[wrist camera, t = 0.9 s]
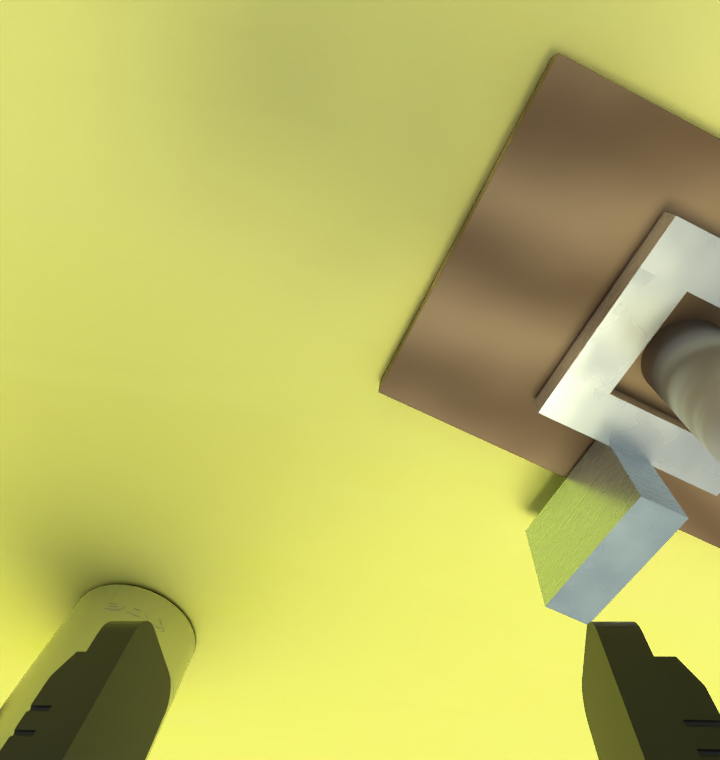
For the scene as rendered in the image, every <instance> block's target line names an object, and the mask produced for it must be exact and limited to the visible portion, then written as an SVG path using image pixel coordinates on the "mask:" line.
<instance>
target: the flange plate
mask: <svg viewBox="0 0 720 760" xmlns="http://www.w3.org/2000/svg"><path fill="white" fill-rule="evenodd" d="M686 292H689V293H691V294H693V295H695V296H697V297H699V298H701V299H703V300H705V301H707V302H709V303H711V304H713V305H715V306H717V307H719V308H720V238H718V237H716V236H714V235H712V234H711V233H709V232H707V231H705V230H703V229H701V228H699V227H697V226H695V225H693V224H691V223H689V222H687V221H685V220H683V219H682V218H680V217H678V216H676V215H673V214H670V213H667V212H664V213H663V215H662V216H661V217H660V219H659V220H658V222H657V223H656V225H655V226H654V228H653V229H652V231H651V232H650V233H649V235H648V236H647V238H646V239H645V241H644V242H643V244H642V245H641V247H640V248H639V249H638V251H637V252H636V254H635V255H634V257H633V258H632V260H631V261H630V263H629V264H628V265H627V267H626V268H625V270H624V271H623V273H622V274H621V276H620V277H619V279H618V280H617V281H616V283H615V284H614V286H613V287H612V289H611V290H610V292H609V293H608V295H607V296H606V297H605V299H604V300H603V302H602V303H601V305H600V306H599V308H598V309H597V311H596V312H595V313H594V315H593V316H592V318H591V319H590V321H589V322H588V324H587V325H586V327H585V328H584V329H583V331H582V332H581V334H580V335H579V337H578V338H577V340H576V341H575V343H574V344H573V345H572V347H571V348H570V350H569V351H568V353H567V354H566V356H565V357H564V359H563V360H562V361H561V363H560V364H559V366H558V367H557V369H556V370H555V372H554V373H553V375H552V376H551V377H550V379H549V380H548V382H547V383H546V385H545V386H544V388H543V389H542V391H541V392H540V393H539V395H538V396H537V398H536V399H535V401H534V404H535V406H536V408H537V411H538V413H540V414H542V415H544V416H546V417H548V418H551V419H553V420H555V421H557V422H559V423H561V424H563V425H566V426H568V427H570V428H572V429H574V430H576V431H578V432H581V433H583V434H585V435H587V436H589V437H591V438H593V439H596V441H595V442H594V443H593V445H592V446H591V447H590V449H589V450H588V451H587V452H586V454H585V455H584V456H583V458H582V459H581V460H580V461H579V463H578V464H577V465H576V467H575V468H574V469H573V470H572V472H571V473H570V474H569V476H568V477H567V478H566V479H565V481H564V482H563V483H562V485H561V486H560V487H559V488H558V490H557V491H556V492H555V494H554V495H553V496H552V497H551V499H550V500H549V501H548V503H547V504H546V505H545V507H544V508H543V509H542V510H541V512H540V513H539V514H538V516H537V517H536V518H535V519H534V521H533V522H532V523H531V525H530V526H529V527H528V528H527V530H526V534H527V538H528V542H529V546H530V550H531V554H532V557H533V561H534V565H535V569H536V573H537V577H538V581H539V584H540V588H541V592H542V596H543V600H544V604H545V606H546V607H548V608H550V609H553V610H555V611H557V612H559V613H562V614H564V615H566V616H569V617H571V618H573V619H576V620H578V621H580V622H583V623H585V624H587V625H588V623H589V622H591V621H592V620H593V619H594V618H595V617H596V616H597V615H598V614H599V613H600V612H601V611H602V610H603V609H604V608H605V607H606V605H607V604H608V603H609V602H610V601H611V600H612V599H613V598H614V597H615V596H616V595H617V594H618V593H619V592H620V591H621V590H622V588H623V587H624V586H625V585H626V584H627V583H628V582H629V581H630V580H631V579H632V578H633V577H634V576H635V575H636V574H637V573H638V572H639V570H640V569H641V568H642V567H643V566H644V565H645V564H646V563H647V562H648V561H649V560H650V559H651V558H652V557H653V556H654V555H655V553H656V552H657V551H658V550H659V549H660V548H661V547H662V546H663V545H664V544H665V543H666V542H667V541H668V540H669V539H670V538H671V537H672V535H673V534H674V533H675V532H676V531H677V530H678V529H679V528H680V527H681V526H682V525H683V524H684V523H685V522H686V521H687V520H688V517H687V515H686V514H685V512H684V511H683V509H682V508H681V506H680V505H679V504H678V502H677V501H676V499H675V498H674V496H673V495H672V493H671V492H670V490H669V489H668V488H667V486H666V485H665V483H664V482H663V480H662V479H661V477H660V476H659V474H658V473H657V472H656V470H655V469H654V467H655V468H658V469H660V470H662V471H664V472H666V473H668V474H670V475H673V476H675V477H677V478H679V479H681V480H683V481H685V482H688V483H690V484H692V485H694V486H696V487H698V488H700V489H703V490H705V491H707V492H709V493H711V494H713V495H715V496H717V495H718V494H719V493H720V463H719V462H718V461H717V460H716V459H715V458H714V457H713V456H712V455H711V454H710V453H709V451H708V450H707V449H706V448H705V447H704V446H703V445H702V444H701V442H700V441H699V440H698V439H697V438H696V437H695V436H694V435H693V433H692V432H691V431H690V430H689V429H688V428H687V427H686V426H685V425H684V423H683V422H682V421H680V420H678V419H675V418H673V417H671V416H669V415H667V414H665V413H663V412H661V411H659V410H657V409H655V408H652V407H650V406H648V405H646V404H644V403H642V402H640V401H638V400H636V399H634V398H632V397H629V396H627V395H625V394H623V393H621V392H619V391H617V390H615V389H614V388H615V386H616V385H617V384H618V382H619V381H620V380H621V378H622V377H623V376H624V374H625V373H626V372H627V370H628V369H629V368H630V366H631V365H632V364H633V362H634V361H635V360H636V358H637V357H638V356H639V354H640V353H641V352H642V351H643V349H644V348H645V347H646V345H647V344H648V343H649V341H650V340H651V339H652V337H653V336H654V335H655V333H656V332H657V331H658V329H659V328H660V327H661V325H662V324H663V323H664V321H665V320H666V319H667V317H668V316H669V315H670V313H671V312H672V311H673V309H674V308H675V307H676V305H677V304H678V303H679V301H680V300H681V299H682V298H683V296H684V295H685V294H686Z"/></svg>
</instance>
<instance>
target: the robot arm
mask: <svg viewBox="0 0 720 760" xmlns="http://www.w3.org/2000/svg"><path fill="white" fill-rule="evenodd" d="M194 649H195V635H194V631H193V629H192V627H191V624H190V622H189V621H188V620H187V618H186V617H185V616H184V614H183V613H182V612H181V611H180V610H179V609H178V608H177V607H176V606H175V605H174V604H172V603H171V602H169V601H168V600H166V599H165V598H163V597H162V596H160V595H158V594H156V593H153V592H151V591H149V590H146V589H143V588H140V587H136V586H130V585H106V586H100V587H98V588H95V589H93V590H90V591H89V592H88V593H86V594H85V595H84V596H82V597H81V599H80V600H79V602H78V603H77V604H76V606H75V607H74V608H73V610H72V611H71V613H70V614H69V615H68V617H67V618H66V619H65V621H64V622H63V623H62V625H61V626H60V628H59V629H58V630H57V632H56V633H55V634H54V636H53V637H52V639H51V640H50V641H49V643H48V644H47V645H46V646H45V648H44V649H43V650H42V652H41V653H40V655H39V656H38V657H37V659H36V660H35V661H34V663H33V664H32V666H31V667H30V668H29V670H28V671H27V672H26V674H25V675H24V677H23V678H22V679H21V681H20V682H19V684H18V685H17V686H16V688H15V689H14V690H13V692H12V693H11V695H10V696H9V697H8V699H7V700H6V701H5V703H4V704H3V706H2V707H1V708H0V760H147V758H148V756H149V754H150V752H151V749H152V747H153V745H154V742H155V740H156V738H157V735H158V733H159V731H160V728H161V726H162V724H163V722H164V719H165V717H166V715H167V712H168V710H169V708H170V705H171V704H172V701H173V699H174V697H175V694H176V692H177V690H178V687H179V685H180V683H181V680H182V678H183V676H184V673H185V671H186V669H187V666H188V664H189V662H190V660H191V657H192V655H193V653H194ZM582 693H583V701H584V707H585V712H586V717H587V721H588V724H589V728H590V731H591V734H592V738H593V741H594V745H595V748H596V751H597V755H598V758H599V760H720V714H719V712H718V710H717V708H716V706H715V704H714V702H713V701H712V699H711V697H710V695H709V693H708V691H707V689H706V687H705V686H704V685H703V684H702V683H701V682H700V681H699V680H698V679H697V678H696V677H695V676H694V675H693V674H692V673H691V672H690V671H689V670H688V669H687V668H686V666H685V665H684V664H683V663H682V662H681V661H680V660H679V659H678V658H677V657H654V656H653V654H652V652H651V650H650V648H649V645H648V643H647V641H646V639H645V637H644V635H643V633H642V631H641V629H640V627H639V626H638V625H637V623H635V622H589V623H588V625H587V632H586V643H585V654H584V665H583V676H582Z"/></svg>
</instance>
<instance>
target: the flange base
mask: <svg viewBox="0 0 720 760" xmlns="http://www.w3.org/2000/svg"><path fill="white" fill-rule="evenodd" d="M664 212H667V213H670V214H673V215H676V216H678V217H680V218H682V219H683V220H685V221H687V222H689V223H691V224H693V225H695V226H697V227H699V228H701V229H703V230H705V231H707V232H709V233H711V234H712V235H714V236H716V237H718V238H720V139H718V138H716V137H714V136H712V135H711V134H709V133H707V132H705V131H703V130H701V129H699V128H697V127H696V126H694V125H692V124H690V123H688V122H686V121H684V120H683V119H681V118H679V117H677V116H675V115H673V114H671V113H670V112H668V111H666V110H664V109H662V108H660V107H658V106H656V105H655V104H653V103H651V102H649V101H647V100H645V99H643V98H642V97H640V96H638V95H636V94H634V93H632V92H630V91H629V90H627V89H625V88H623V87H621V86H619V85H617V84H615V83H614V82H612V81H610V80H608V79H606V78H604V77H602V76H601V75H599V74H597V73H595V72H593V71H591V70H589V69H587V68H586V67H584V66H582V65H580V64H578V63H576V62H574V61H573V60H571V59H569V58H567V57H565V56H563V55H561V54H560V53H558V54H556V55H555V56H553V57H552V58H551V60H550V62H549V64H548V66H547V68H546V70H545V72H544V73H543V75H542V77H541V79H540V81H539V83H538V85H537V87H536V89H535V90H534V92H533V94H532V96H531V98H530V100H529V102H528V104H527V106H526V108H525V109H524V111H523V113H522V115H521V117H520V119H519V121H518V123H517V125H516V126H515V128H514V130H513V132H512V134H511V136H510V138H509V140H508V142H507V143H506V145H505V147H504V149H503V151H502V153H501V155H500V157H499V159H498V160H497V162H496V164H495V166H494V168H493V170H492V172H491V174H490V176H489V177H488V179H487V181H486V183H485V185H484V187H483V189H482V191H481V193H480V194H479V196H478V198H477V200H476V202H475V204H474V206H473V208H472V210H471V211H470V213H469V215H468V217H467V219H466V221H465V223H464V225H463V227H462V228H461V230H460V232H459V234H458V236H457V238H456V240H455V242H454V244H453V245H452V247H451V249H450V251H449V253H448V255H447V257H446V259H445V261H444V262H443V264H442V266H441V268H440V270H439V272H438V274H437V276H436V278H435V279H434V281H433V283H432V285H431V287H430V289H429V291H428V293H427V295H426V296H425V298H424V300H423V302H422V304H421V306H420V308H419V310H418V312H417V313H416V315H415V317H414V319H413V321H412V323H411V325H410V327H409V329H408V330H407V332H406V334H405V336H404V338H403V340H402V342H401V344H400V346H399V347H398V349H397V351H396V353H395V355H394V357H393V359H392V361H391V363H390V364H389V366H388V368H387V370H386V372H385V374H384V376H383V378H382V380H381V381H380V385H379V393H382V394H384V395H386V396H388V397H390V398H393V399H395V400H397V401H399V402H401V403H404V404H406V405H408V406H410V407H412V408H414V409H417V410H419V411H421V412H423V413H425V414H428V415H430V416H432V417H434V418H436V419H439V420H441V421H443V422H445V423H447V424H449V425H452V426H454V427H456V428H458V429H460V430H463V431H465V432H467V433H469V434H471V435H474V436H476V437H478V438H480V439H482V440H484V441H487V442H489V443H491V444H493V445H495V446H498V447H500V448H502V449H504V450H506V451H509V452H511V453H513V454H515V455H517V456H519V457H522V458H524V459H526V460H528V461H530V462H533V463H535V464H537V465H539V466H541V467H544V468H546V469H548V470H550V471H552V472H554V473H557V474H559V475H561V476H563V477H565V478H567V477H568V476H569V474H570V473H571V472H572V470H573V469H574V468H575V467H576V465H577V464H578V463H579V461H580V460H581V459H582V458H583V456H584V455H585V454H586V452H587V451H588V450H589V449H590V447H591V446H592V445H593V443H594V442H595V441H596V439H593V438H591V437H589V436H587V435H585V434H583V433H581V432H578V431H576V430H574V429H572V428H570V427H568V426H566V425H563V424H561V423H559V422H557V421H555V420H553V419H551V418H548V417H546V416H544V415H542V414H540V413H538V411H537V408H536V406H535V404H534V401H535V399H536V398H537V396H538V395H539V393H540V392H541V391H542V389H543V388H544V386H545V385H546V383H547V382H548V380H549V379H550V377H551V376H552V375H553V373H554V372H555V370H556V369H557V367H558V366H559V364H560V363H561V361H562V360H563V359H564V357H565V356H566V354H567V353H568V351H569V350H570V348H571V347H572V345H573V344H574V343H575V341H576V340H577V338H578V337H579V335H580V334H581V332H582V331H583V329H584V328H585V327H586V325H587V324H588V322H589V321H590V319H591V318H592V316H593V315H594V313H595V312H596V311H597V309H598V308H599V306H600V305H601V303H602V302H603V300H604V299H605V297H606V296H607V295H608V293H609V292H610V290H611V289H612V287H613V286H614V284H615V283H616V281H617V280H618V279H619V277H620V276H621V274H622V273H623V271H624V270H625V268H626V267H627V265H628V264H629V263H630V261H631V260H632V258H633V257H634V255H635V254H636V252H637V251H638V249H639V248H640V247H641V245H642V244H643V242H644V241H645V239H646V238H647V236H648V235H649V233H650V232H651V231H652V229H653V228H654V226H655V225H656V223H657V222H658V220H659V219H660V217H661V216H662V215H663V213H664ZM614 389H615V390H617V391H619V392H621V393H623V394H625V395H627V396H629V397H632V398H634V399H636V400H638V401H640V402H642V403H644V404H646V405H648V406H650V407H652V408H655V409H657V410H659V411H661V412H663V413H665V414H667V415H669V416H671V417H673V418H675V419H678V420H680V421H682V422H683V423H684V425H685V426H686V427H687V428H688V429H689V430H690V431H691V432H692V433H693V435H694V436H695V437H696V438H697V439H698V440H699V441H700V442H701V444H702V445H703V446H704V447H705V448H706V449H707V450H708V451H709V453H710V454H711V455H712V456H713V457H714V458H715V459H716V460H717V461H718V462H719V463H720V308H719V307H717V306H715V305H713V304H711V303H709V302H707V301H705V300H703V299H701V298H699V297H697V296H695V295H693V294H691V293H689V292H686V294H685V295H684V296H683V298H682V299H681V300H680V301H679V303H678V304H677V305H676V307H675V308H674V309H673V311H672V312H671V313H670V315H669V316H668V317H667V319H666V320H665V321H664V323H663V324H662V325H661V327H660V328H659V329H658V331H657V332H656V333H655V335H654V336H653V337H652V339H651V340H650V341H649V343H648V344H647V345H646V347H645V348H644V349H643V351H642V352H641V353H640V354H639V356H638V357H637V358H636V360H635V361H634V362H633V364H632V365H631V366H630V368H629V369H628V370H627V372H626V373H625V374H624V376H623V377H622V378H621V380H620V381H619V382H618V384H617V385H616V386H615V388H614ZM654 469H655V470H656V472H657V473H658V474H659V476H660V477H661V479H662V480H663V482H664V483H665V485H666V486H667V488H668V489H669V490H670V492H671V493H672V495H673V496H674V498H675V499H676V501H677V502H678V504H679V505H680V506H681V508H682V509H683V511H684V512H685V514H686V515H687V517H688V520H687V521H686V522H685V523H684V524H683V525H682V526H681V527H680V528H679V530H681V531H683V532H686V533H688V534H690V535H692V536H694V537H697V538H699V539H701V540H703V541H705V542H708V543H710V544H712V545H714V546H716V547H718V548H720V493H719V494H718V495H717V496H715V495H713V494H711V493H709V492H707V491H705V490H703V489H700V488H698V487H696V486H694V485H692V484H690V483H688V482H685V481H683V480H681V479H679V478H677V477H675V476H673V475H670V474H668V473H666V472H664V471H662V470H660V469H658V468H655V467H654Z"/></svg>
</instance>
